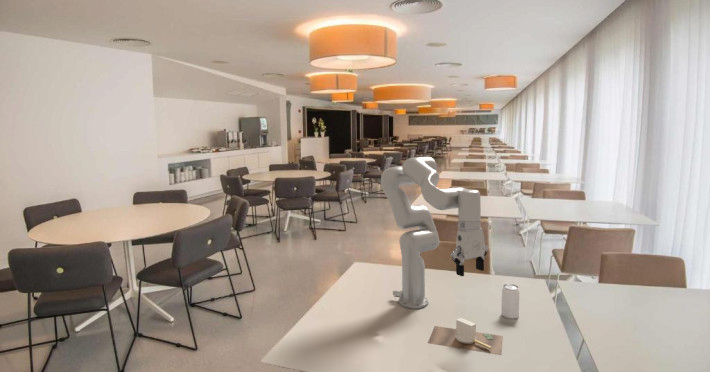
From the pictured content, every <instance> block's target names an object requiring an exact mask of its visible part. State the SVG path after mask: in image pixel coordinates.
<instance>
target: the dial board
mask: <svg viewBox="0 0 710 372" xmlns="http://www.w3.org/2000/svg"><path fill="white" fill-rule="evenodd" d="M455 334H456V328H451V327H444V326H439V325H434V326H433V329H432V331H431V334H430V337H429V338H428V341H427V344H431V345H438V346H445V347H449V348H456V349H463V350H469V351H475V352H480V353H481V352H482V353H487V354H493V355H499V356H502V352H503V341H504V335H498V334H493V333H491V334H490V333H485V332H478V331H476V340H478V341H480V342H482V343H484V344H487V345H489V346H491V347H492V349H488V348H486V347H484V346H482V345H480V344H477V343H475V342H474V343H471V344H465V343H461V342H459V341H457V340H456V338H455Z"/></svg>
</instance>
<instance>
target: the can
mask: <svg viewBox="0 0 710 372" xmlns="http://www.w3.org/2000/svg"><path fill="white" fill-rule="evenodd" d="M502 287H503V288H502V289H501V316H502V317H504V318H506V319H509V320H511V319H512V320H515V319H517V318H518V317H519V316H520V289H519V286H518V285H516V284H511V283H506V284H504V285H503V286H502Z"/></svg>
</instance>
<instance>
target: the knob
mask: <svg viewBox="0 0 710 372" xmlns="http://www.w3.org/2000/svg"><path fill="white" fill-rule="evenodd" d="M455 321H456V323H455V327H456V328H455V329H456V334H455V338H456V340H457V341H459V342H461V343H465V344H471V343H474V342H475V343H477V344H480V345H482V346H484V347H486V348H488V349H492V347H491V346H489V345H487V344H484V343H482V342H480V341H478V340H476V332H477V331H476V330H477V324H476V323H475V322H473V321H470V320H467V319H465V318H462V317H459V318H457V319H456V320H455Z"/></svg>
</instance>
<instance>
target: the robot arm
mask: <svg viewBox="0 0 710 372" xmlns="http://www.w3.org/2000/svg"><path fill="white" fill-rule="evenodd" d="M437 170H438V165H437V162H436V161H435V159H434V158H432V157H430V156H417V157H410V158H407V159H405V160H404V162H403V164H402V165H399V166H397V165H396V166H390V167H388V168H386V169H384V170H383V172H382V173H381V176H380V183H381V188H382V190H383V193H384V195H385V196H386V199H387V200H388V202H389V206H390V208H391V211H392V214H393V217H394V220H395V223H396V225H397V227H398V228H399V229H401V230H409V229H413V230H409V231H406V232H404V233H402V234H401V235H400V237H399V243H398V244H399V249H400V254H401V285H402V286H401V290H399V291H398V290H392V295H393V296H394V298H398V304H399V305H400V306H401V307H404V308H407V309H416V310H417V309H422V308H425V307H427V306H428V305H429V299H428V298H427V297H426V295H425V294H426V292H425V291H426V289H425V286H426V285H425V283H426V281H425V280H426V279H425V276H426V273H425V272H426V271H425V270H426V269H425V261H424V259H423V257H422V255H421V253H424V252H428V251H433V250H435V249H437V248H438V247H439V244H440V236H439V232H438V230H437V227H436V225H435V221H434V218H433V216H432V213H431V211H430V210H429V208H428V207H427V206H425V205H423V204H417V205H412V203H411V201H410V199H409V196H408V194H407V193H406V192H405V191H404V190H403V189H402V188H400V187H401V186H409V185H418V186H419V187H420V191H421V194H422V195H421V196H422V198H423V199H424V201H426V203H428V204H429V205H430V206H431V207H432V208H434V209H436V210H439V211H446V210H452V209H458V211H457V213H458V214H457V215H458V216H457V217H458V223H457V228H458V229H457V233H456V239H455V240H456V242H455V248H454V250H452V251H451V253H450V257H451V260H452V261H453V262H454V264H455V273H456V275H457V276H460V277H464V276H465V265H464V262H465V260H472V259H475V269H476V270H479V271H482V272H483V271H485V259H486V256H487V254H488V252H487V251H488V250H489V245H487V244H485V243H486V242H485V235H484V231H483V228H482V227H481V225H482V223H481V221H482V219H481V218H482V215H481V212H482V211H481V192H480V191H479V190H477V189H468V188H465V187H462V186H461V187H460V186H459V187H458V186H457V187H447V188H439V187H437V185H438V184H439V181H440V174H439V172H438V171H437ZM415 228H418V229H415Z"/></svg>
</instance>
